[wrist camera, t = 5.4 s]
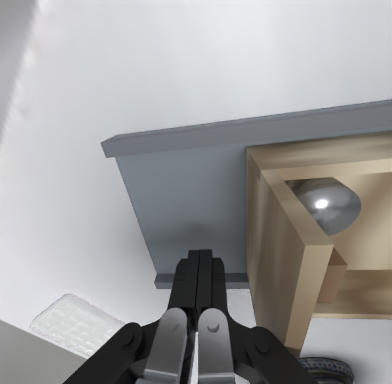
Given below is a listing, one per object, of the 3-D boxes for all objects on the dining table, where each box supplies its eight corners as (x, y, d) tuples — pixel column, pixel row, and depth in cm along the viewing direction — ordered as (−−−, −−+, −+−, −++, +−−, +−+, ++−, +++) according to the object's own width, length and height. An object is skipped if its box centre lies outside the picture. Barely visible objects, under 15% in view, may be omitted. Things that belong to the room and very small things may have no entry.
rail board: (565, 77, 10) (652, 73, 8) (430, 266, 17) (458, 288, 15) (116, 135, 13) (100, 142, 11) (162, 270, 20) (156, 288, 18)
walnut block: (321, 232, 14) (347, 265, 11) (312, 267, 15) (333, 303, 13) (267, 234, 14) (279, 266, 12) (264, 268, 16) (274, 302, 13)
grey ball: (332, 161, 11) (369, 183, 8) (323, 205, 12) (352, 235, 10) (277, 167, 11) (296, 189, 9) (274, 208, 13) (290, 238, 10)
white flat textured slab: (71, 287, 25) (61, 301, 23) (175, 346, 31) (173, 361, 29) (34, 316, 30) (24, 329, 28) (129, 362, 36) (125, 375, 34)
